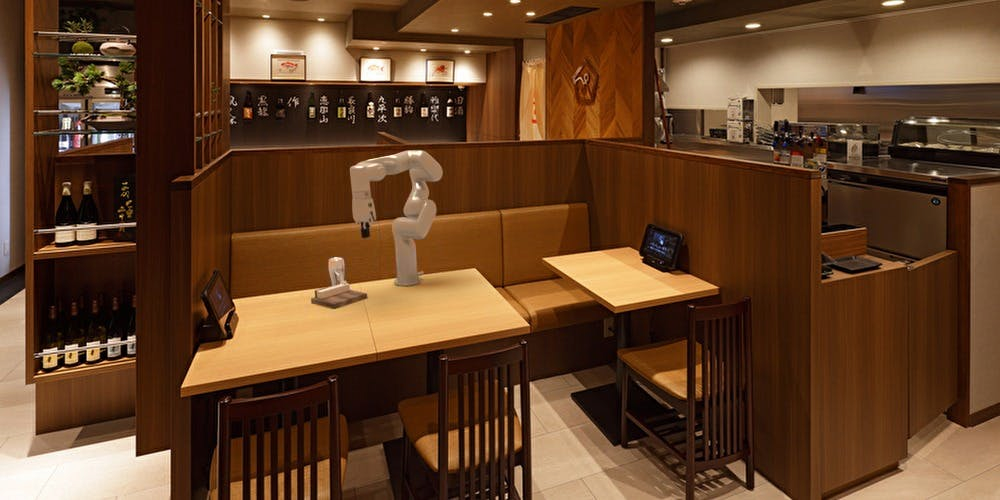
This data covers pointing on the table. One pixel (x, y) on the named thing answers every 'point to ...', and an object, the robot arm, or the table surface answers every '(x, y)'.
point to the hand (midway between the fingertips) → (365, 237)
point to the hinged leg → (333, 290)
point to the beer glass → (336, 270)
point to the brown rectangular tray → (339, 298)
